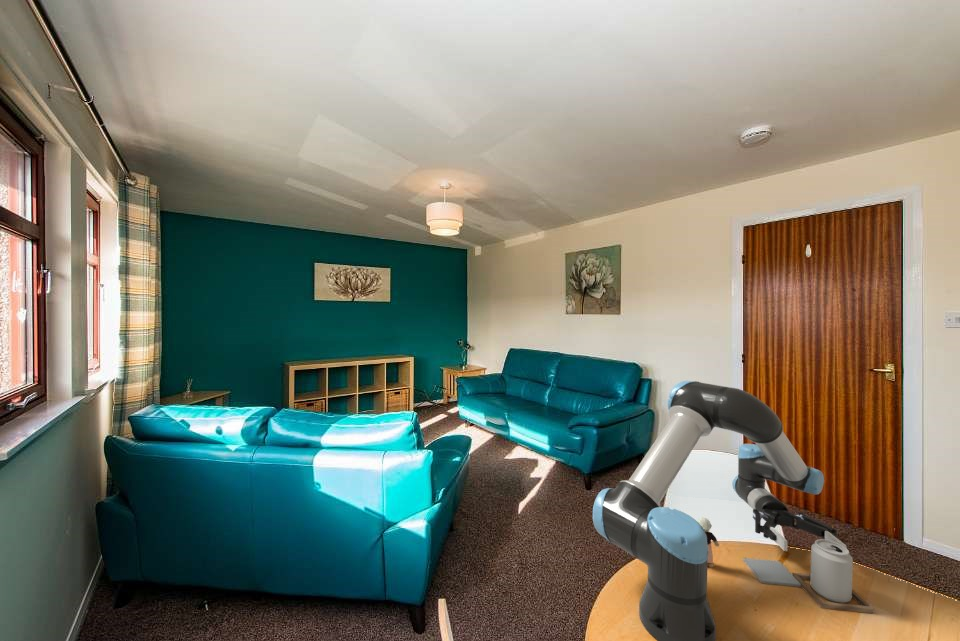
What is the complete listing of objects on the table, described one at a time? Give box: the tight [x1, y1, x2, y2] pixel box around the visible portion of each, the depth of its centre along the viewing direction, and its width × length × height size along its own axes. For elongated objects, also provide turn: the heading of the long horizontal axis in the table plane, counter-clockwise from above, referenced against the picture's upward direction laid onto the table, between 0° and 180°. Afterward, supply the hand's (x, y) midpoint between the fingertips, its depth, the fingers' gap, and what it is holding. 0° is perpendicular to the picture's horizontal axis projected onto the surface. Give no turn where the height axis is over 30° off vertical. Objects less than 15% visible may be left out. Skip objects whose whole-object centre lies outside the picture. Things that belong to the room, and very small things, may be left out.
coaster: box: [742, 557, 802, 588], centre depth 102 cm, size 9×9×1 cm
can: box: [809, 538, 854, 604], centre depth 94 cm, size 8×8×12 cm
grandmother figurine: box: [697, 517, 720, 568], centre depth 105 cm, size 8×4×13 cm, turn 106°
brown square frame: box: [791, 572, 875, 614], centre depth 95 cm, size 11×11×1 cm
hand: (815, 548), depth 101 cm, fingers open, 13 cm apart
